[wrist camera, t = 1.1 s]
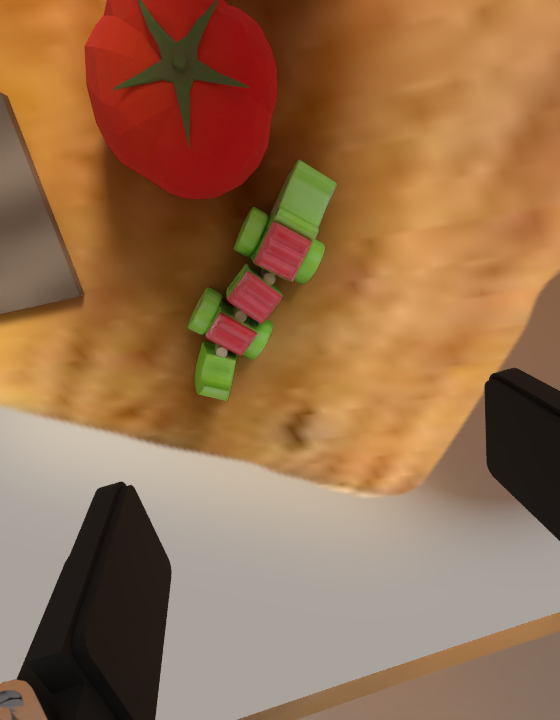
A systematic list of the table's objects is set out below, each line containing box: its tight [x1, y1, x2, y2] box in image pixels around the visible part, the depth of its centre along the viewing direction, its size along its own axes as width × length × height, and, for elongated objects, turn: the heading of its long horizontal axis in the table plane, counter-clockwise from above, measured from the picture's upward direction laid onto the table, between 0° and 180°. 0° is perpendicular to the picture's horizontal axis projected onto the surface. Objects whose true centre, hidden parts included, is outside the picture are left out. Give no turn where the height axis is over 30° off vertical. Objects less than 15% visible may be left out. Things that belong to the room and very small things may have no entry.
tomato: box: [85, 0, 278, 199], centre depth 24 cm, size 12×12×10 cm
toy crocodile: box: [187, 160, 337, 401], centre depth 32 cm, size 20×7×6 cm, turn 148°
